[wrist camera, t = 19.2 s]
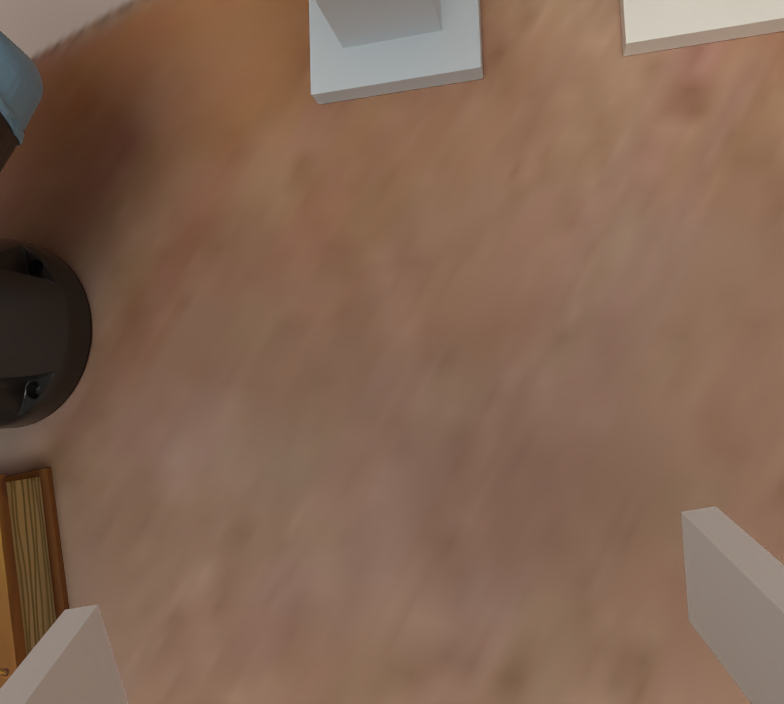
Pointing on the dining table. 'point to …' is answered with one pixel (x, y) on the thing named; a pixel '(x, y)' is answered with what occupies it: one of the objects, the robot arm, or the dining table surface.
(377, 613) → the dining table surface
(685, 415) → the dining table surface
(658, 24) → the stand
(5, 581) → the diary
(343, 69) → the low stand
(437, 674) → the dining table surface
